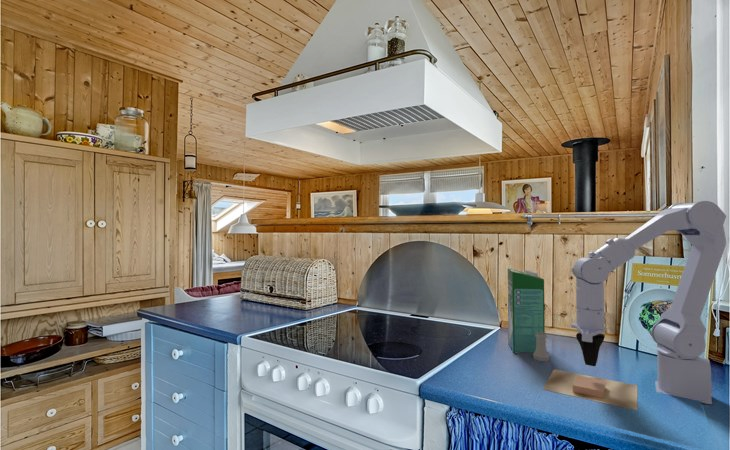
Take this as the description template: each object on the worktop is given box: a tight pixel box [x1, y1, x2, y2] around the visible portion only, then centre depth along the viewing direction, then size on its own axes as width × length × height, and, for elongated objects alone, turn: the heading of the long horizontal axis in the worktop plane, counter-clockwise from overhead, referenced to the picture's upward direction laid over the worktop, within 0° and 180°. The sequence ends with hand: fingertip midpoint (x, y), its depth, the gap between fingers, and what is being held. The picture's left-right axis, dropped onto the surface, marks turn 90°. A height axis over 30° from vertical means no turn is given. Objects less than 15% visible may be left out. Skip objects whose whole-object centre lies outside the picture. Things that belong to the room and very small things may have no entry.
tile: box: [573, 375, 606, 398], centre depth 88 cm, size 6×2×7 cm
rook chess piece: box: [532, 332, 550, 362], centre depth 109 cm, size 4×4×8 cm
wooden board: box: [542, 368, 638, 411], centre depth 89 cm, size 18×15×1 cm
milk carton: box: [507, 267, 546, 354], centre depth 119 cm, size 9×9×25 cm
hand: (590, 364), depth 91 cm, fingers closed
